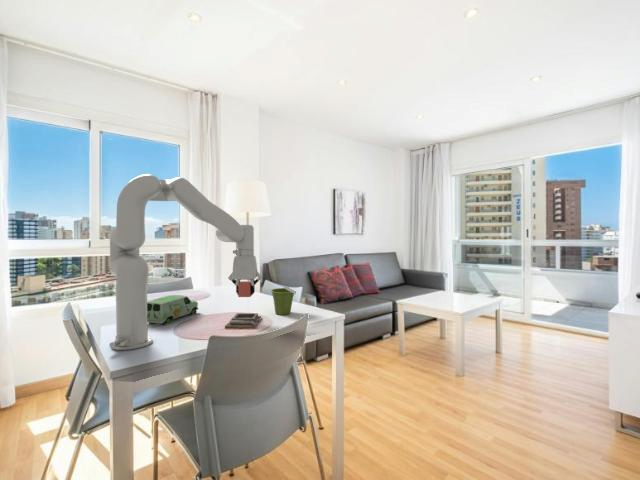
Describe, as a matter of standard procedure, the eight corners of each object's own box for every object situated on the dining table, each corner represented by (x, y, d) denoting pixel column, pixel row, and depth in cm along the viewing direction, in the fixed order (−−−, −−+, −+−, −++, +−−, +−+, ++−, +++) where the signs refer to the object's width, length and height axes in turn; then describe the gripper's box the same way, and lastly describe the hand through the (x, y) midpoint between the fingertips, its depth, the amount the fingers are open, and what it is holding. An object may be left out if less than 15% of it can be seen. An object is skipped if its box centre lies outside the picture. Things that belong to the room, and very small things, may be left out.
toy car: (199, 313, 161) (199, 292, 160) (161, 327, 137) (161, 303, 137) (180, 311, 164) (180, 291, 163) (140, 325, 140) (140, 301, 140)
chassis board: (254, 328, 135) (254, 322, 135) (224, 328, 135) (224, 322, 135) (261, 318, 151) (261, 312, 151) (234, 318, 151) (234, 312, 151)
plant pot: (276, 317, 152) (276, 293, 152) (267, 312, 162) (267, 289, 162) (299, 314, 158) (299, 291, 158) (289, 309, 168) (289, 287, 168)
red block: (250, 297, 142) (249, 283, 142) (238, 297, 142) (238, 283, 142) (252, 294, 147) (252, 281, 147) (241, 294, 147) (241, 281, 147)
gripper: (223, 253, 140) (223, 296, 141) (263, 253, 140) (263, 296, 141) (227, 252, 148) (228, 292, 149) (266, 252, 148) (266, 292, 149)
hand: (245, 294), depth 145 cm, fingers closed on red block, 5 cm apart
